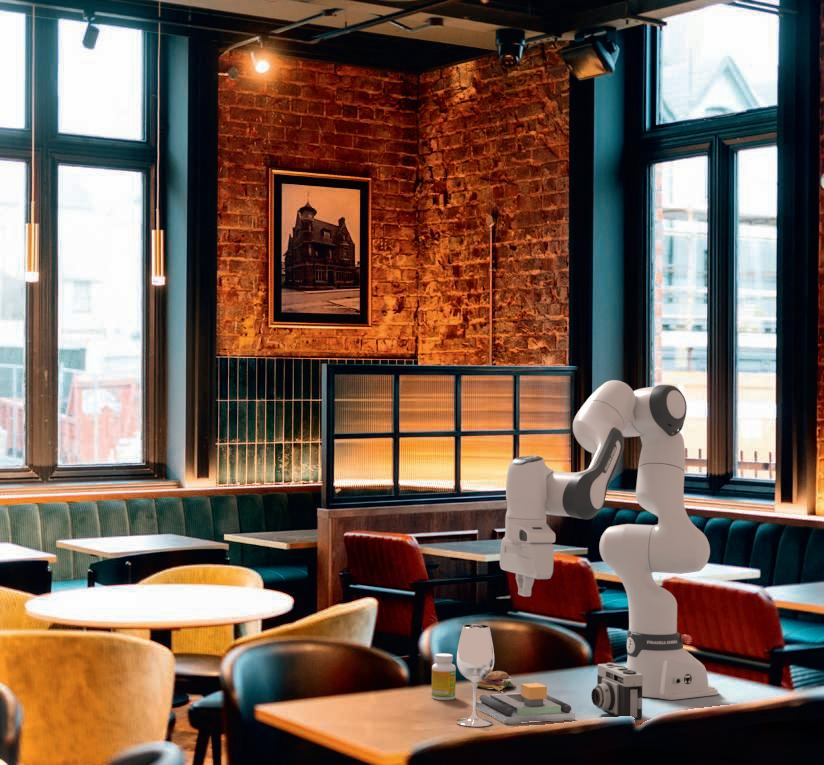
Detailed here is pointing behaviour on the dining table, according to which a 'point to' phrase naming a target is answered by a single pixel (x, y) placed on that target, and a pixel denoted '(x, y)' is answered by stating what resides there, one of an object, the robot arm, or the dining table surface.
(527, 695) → the toggle
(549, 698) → the dark grey slide rails
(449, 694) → the supplement bottle
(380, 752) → the dining table surface
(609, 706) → the camera
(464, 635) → the wineglass
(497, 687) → the hamburger
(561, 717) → the panel
